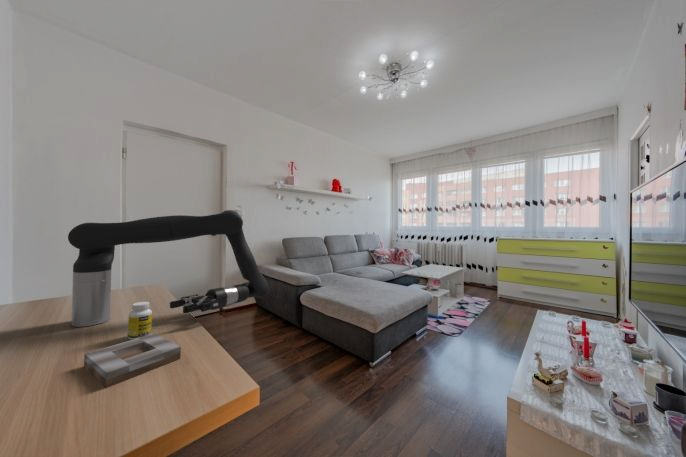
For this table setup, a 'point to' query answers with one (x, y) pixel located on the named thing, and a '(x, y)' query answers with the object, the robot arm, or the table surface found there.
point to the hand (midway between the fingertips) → (176, 307)
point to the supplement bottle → (139, 321)
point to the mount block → (130, 358)
